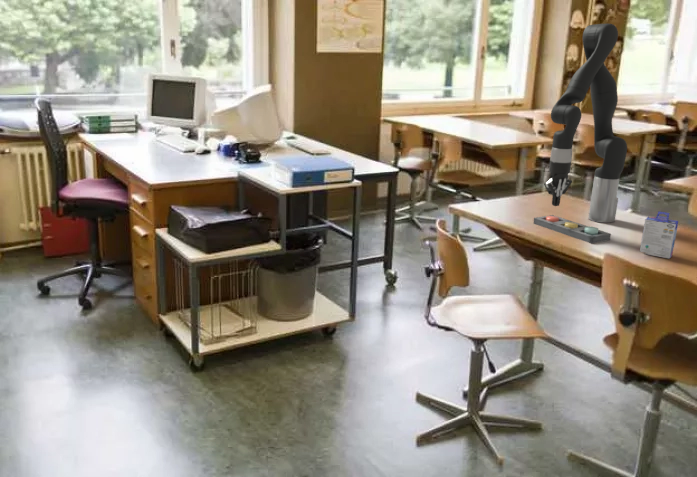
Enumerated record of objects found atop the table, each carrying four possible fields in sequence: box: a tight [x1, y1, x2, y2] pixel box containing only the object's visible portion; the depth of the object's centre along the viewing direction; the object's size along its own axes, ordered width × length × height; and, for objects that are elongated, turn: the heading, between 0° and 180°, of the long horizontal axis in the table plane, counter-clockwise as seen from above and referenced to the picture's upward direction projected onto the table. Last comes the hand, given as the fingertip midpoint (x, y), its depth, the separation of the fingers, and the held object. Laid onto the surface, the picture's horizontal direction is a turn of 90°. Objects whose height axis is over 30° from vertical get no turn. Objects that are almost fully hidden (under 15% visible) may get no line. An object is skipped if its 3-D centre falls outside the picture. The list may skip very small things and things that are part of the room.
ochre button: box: [565, 221, 578, 229], centre depth 252 cm, size 5×5×2 cm
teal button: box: [584, 225, 599, 235], centre depth 244 cm, size 5×5×2 cm
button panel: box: [533, 214, 612, 244], centre depth 252 cm, size 27×10×3 cm, turn 32°
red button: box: [546, 215, 559, 222], centre depth 259 cm, size 5×5×2 cm
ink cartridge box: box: [639, 211, 679, 259], centre depth 230 cm, size 10×6×14 cm, turn 58°
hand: (555, 205), depth 257 cm, fingers closed
